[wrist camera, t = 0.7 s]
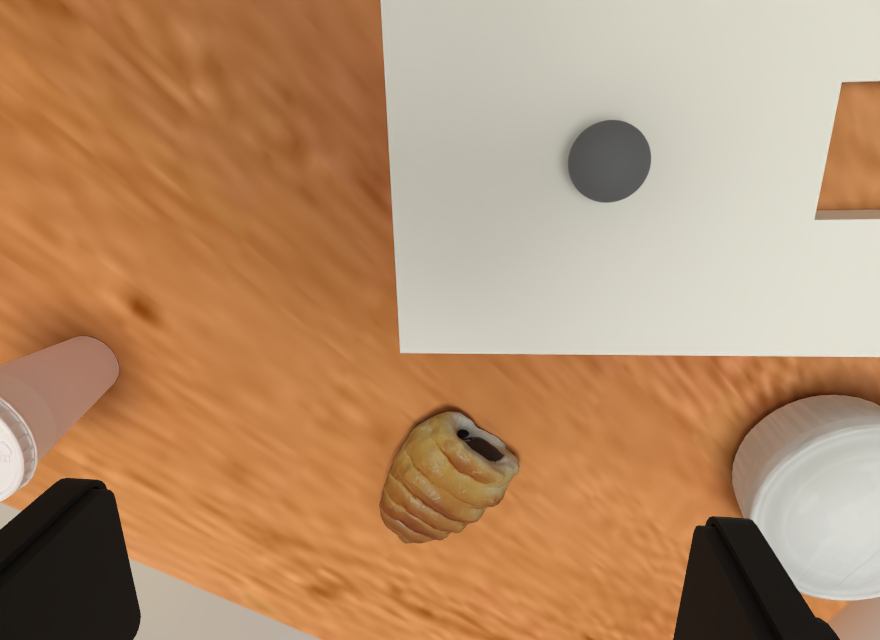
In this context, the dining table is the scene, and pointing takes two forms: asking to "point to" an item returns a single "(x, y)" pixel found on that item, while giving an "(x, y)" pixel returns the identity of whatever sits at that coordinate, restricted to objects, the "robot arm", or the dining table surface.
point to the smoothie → (47, 402)
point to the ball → (609, 161)
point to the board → (657, 200)
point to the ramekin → (817, 493)
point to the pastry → (444, 478)
